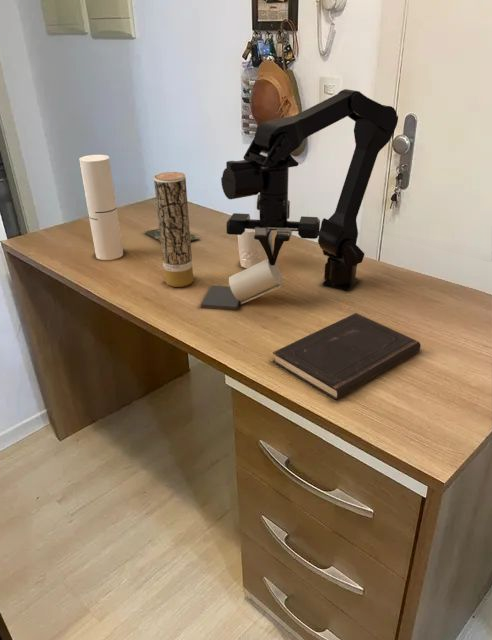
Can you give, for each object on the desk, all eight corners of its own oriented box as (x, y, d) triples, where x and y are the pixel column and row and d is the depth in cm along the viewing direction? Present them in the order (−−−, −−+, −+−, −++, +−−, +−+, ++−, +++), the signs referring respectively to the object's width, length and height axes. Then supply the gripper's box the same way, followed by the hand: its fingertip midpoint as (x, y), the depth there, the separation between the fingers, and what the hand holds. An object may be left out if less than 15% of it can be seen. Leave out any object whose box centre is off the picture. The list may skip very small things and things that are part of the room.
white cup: (256, 273, 137) (255, 234, 132) (231, 265, 142) (230, 227, 136) (274, 262, 143) (275, 224, 137) (250, 256, 147) (249, 219, 141)
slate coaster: (245, 290, 129) (245, 287, 129) (236, 310, 121) (236, 306, 120) (212, 288, 130) (211, 285, 130) (201, 307, 122) (200, 304, 122)
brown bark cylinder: (188, 289, 130) (179, 180, 117) (161, 287, 131) (149, 179, 118) (197, 277, 136) (189, 172, 122) (170, 275, 137) (159, 171, 123)
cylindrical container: (119, 260, 146) (105, 161, 132) (92, 260, 146) (75, 161, 132) (125, 249, 152) (112, 154, 138) (99, 250, 152) (83, 154, 138)
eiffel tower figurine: (143, 233, 162) (137, 187, 155) (173, 226, 168) (169, 181, 160) (168, 248, 152) (163, 199, 145) (200, 240, 157) (196, 192, 150)
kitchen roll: (283, 277, 123) (270, 253, 121) (279, 288, 118) (266, 264, 116) (245, 294, 127) (232, 271, 125) (240, 306, 122) (226, 283, 120)
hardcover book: (272, 362, 103) (272, 351, 102) (354, 322, 115) (355, 312, 114) (337, 401, 93) (338, 390, 91) (419, 352, 105) (421, 342, 104)
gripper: (323, 182, 116) (319, 253, 124) (236, 179, 119) (237, 248, 127) (319, 197, 106) (315, 273, 115) (224, 193, 109) (227, 267, 118)
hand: (273, 264), depth 119 cm, fingers closed
